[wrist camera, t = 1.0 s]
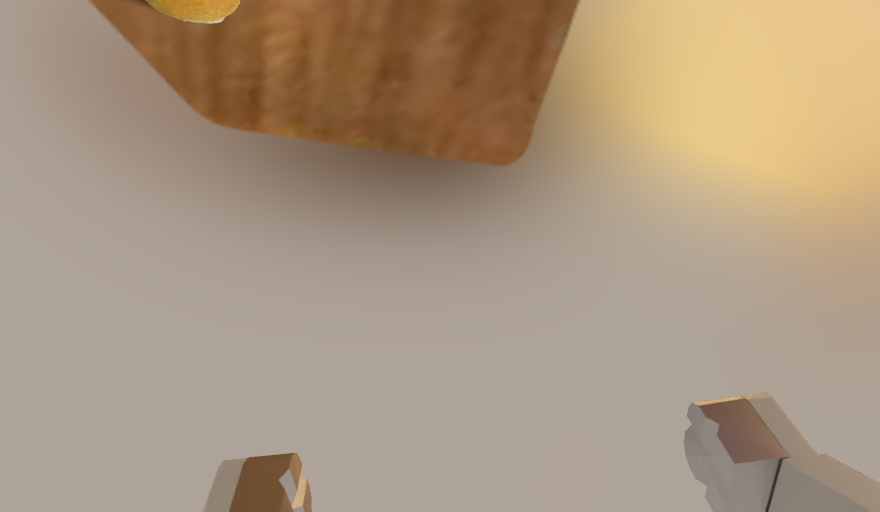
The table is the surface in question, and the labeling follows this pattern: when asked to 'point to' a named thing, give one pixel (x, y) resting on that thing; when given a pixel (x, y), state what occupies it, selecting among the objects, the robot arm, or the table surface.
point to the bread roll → (196, 9)
